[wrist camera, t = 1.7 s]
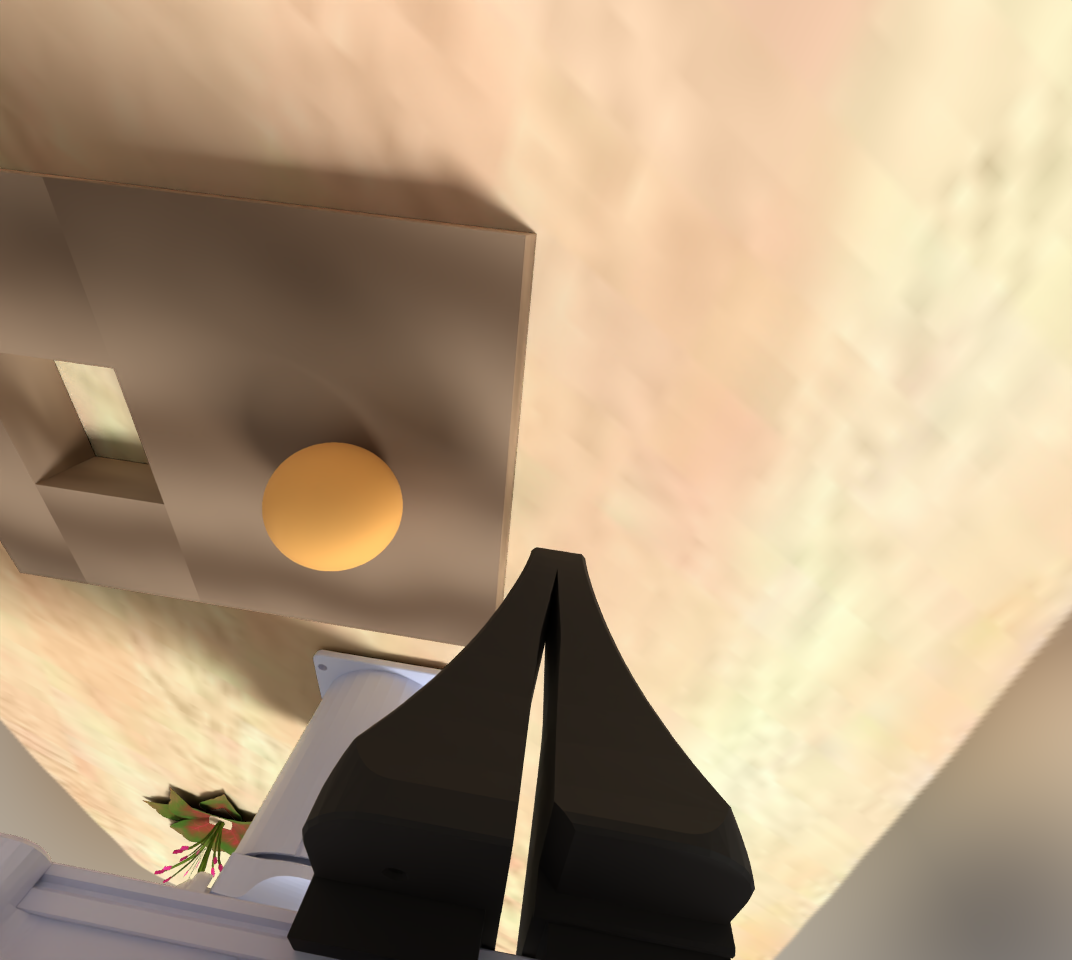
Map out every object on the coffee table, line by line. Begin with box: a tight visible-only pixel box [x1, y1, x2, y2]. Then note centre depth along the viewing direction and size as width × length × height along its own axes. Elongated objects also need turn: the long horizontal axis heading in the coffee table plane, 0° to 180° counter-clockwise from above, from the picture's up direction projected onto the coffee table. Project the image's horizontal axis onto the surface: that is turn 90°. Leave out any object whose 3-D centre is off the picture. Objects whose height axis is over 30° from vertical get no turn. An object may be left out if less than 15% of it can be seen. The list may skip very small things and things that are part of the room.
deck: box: [0, 169, 537, 646], centre depth 17 cm, size 16×22×2 cm
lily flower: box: [143, 788, 251, 883], centre depth 36 cm, size 12×12×5 cm
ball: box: [262, 442, 403, 571], centre depth 14 cm, size 4×4×4 cm
